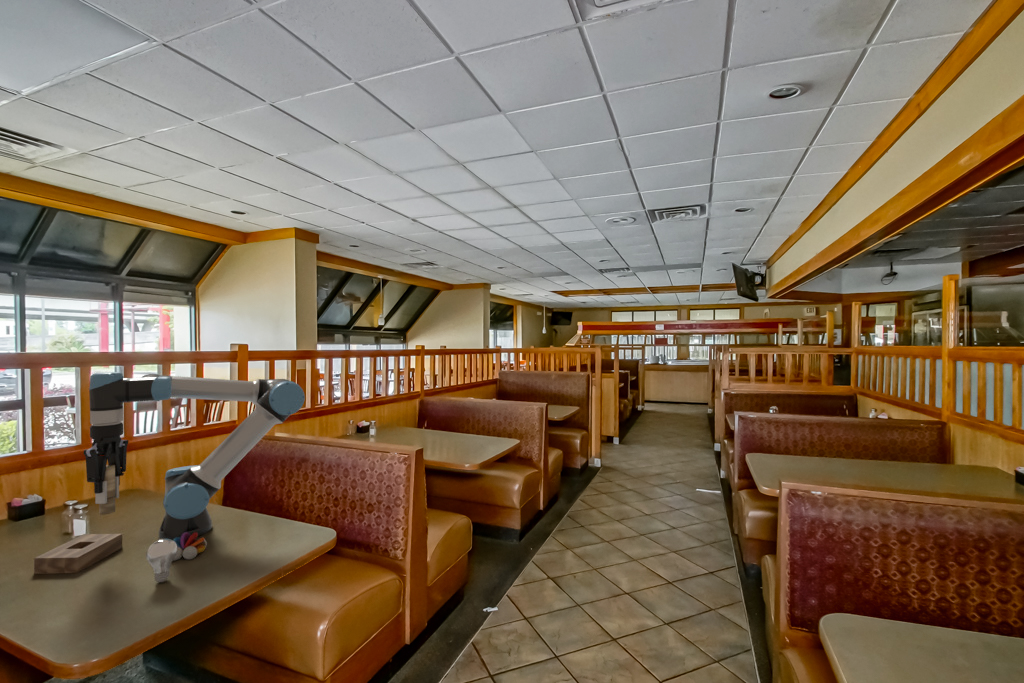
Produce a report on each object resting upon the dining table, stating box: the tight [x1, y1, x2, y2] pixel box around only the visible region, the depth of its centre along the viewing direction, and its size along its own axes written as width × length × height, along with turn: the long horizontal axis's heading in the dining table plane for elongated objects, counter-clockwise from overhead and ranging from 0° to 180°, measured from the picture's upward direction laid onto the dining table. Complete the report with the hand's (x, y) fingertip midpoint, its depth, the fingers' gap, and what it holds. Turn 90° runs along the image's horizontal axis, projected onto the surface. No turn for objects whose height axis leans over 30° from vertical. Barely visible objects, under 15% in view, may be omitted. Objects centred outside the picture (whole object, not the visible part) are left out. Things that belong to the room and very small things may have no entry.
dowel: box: [98, 464, 116, 516], centre depth 136 cm, size 4×4×14 cm
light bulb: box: [145, 538, 178, 584], centre depth 126 cm, size 7×7×12 cm
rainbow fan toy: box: [173, 532, 208, 561], centre depth 142 cm, size 8×10×7 cm
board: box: [33, 533, 123, 575], centre depth 139 cm, size 12×16×4 cm
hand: (107, 500), depth 136 cm, fingers closed on dowel, 4 cm apart
